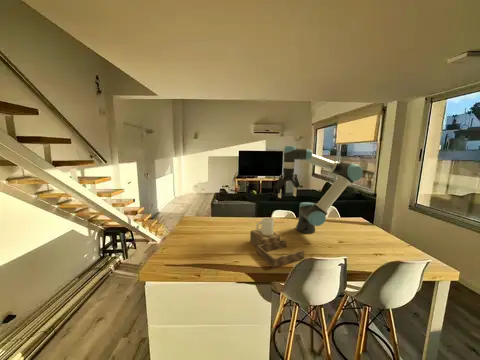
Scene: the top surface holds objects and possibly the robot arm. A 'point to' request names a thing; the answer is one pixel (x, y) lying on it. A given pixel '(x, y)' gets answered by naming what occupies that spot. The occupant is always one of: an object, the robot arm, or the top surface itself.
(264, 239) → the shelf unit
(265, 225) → the mug
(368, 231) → the top surface
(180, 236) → the top surface
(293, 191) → the robot arm
